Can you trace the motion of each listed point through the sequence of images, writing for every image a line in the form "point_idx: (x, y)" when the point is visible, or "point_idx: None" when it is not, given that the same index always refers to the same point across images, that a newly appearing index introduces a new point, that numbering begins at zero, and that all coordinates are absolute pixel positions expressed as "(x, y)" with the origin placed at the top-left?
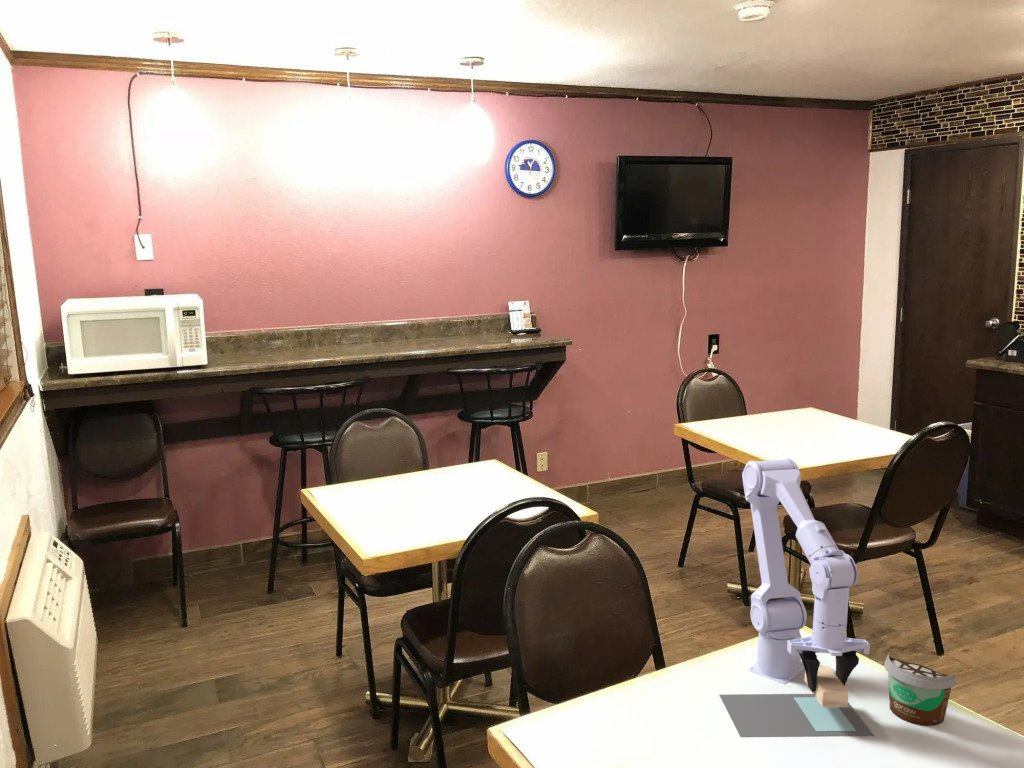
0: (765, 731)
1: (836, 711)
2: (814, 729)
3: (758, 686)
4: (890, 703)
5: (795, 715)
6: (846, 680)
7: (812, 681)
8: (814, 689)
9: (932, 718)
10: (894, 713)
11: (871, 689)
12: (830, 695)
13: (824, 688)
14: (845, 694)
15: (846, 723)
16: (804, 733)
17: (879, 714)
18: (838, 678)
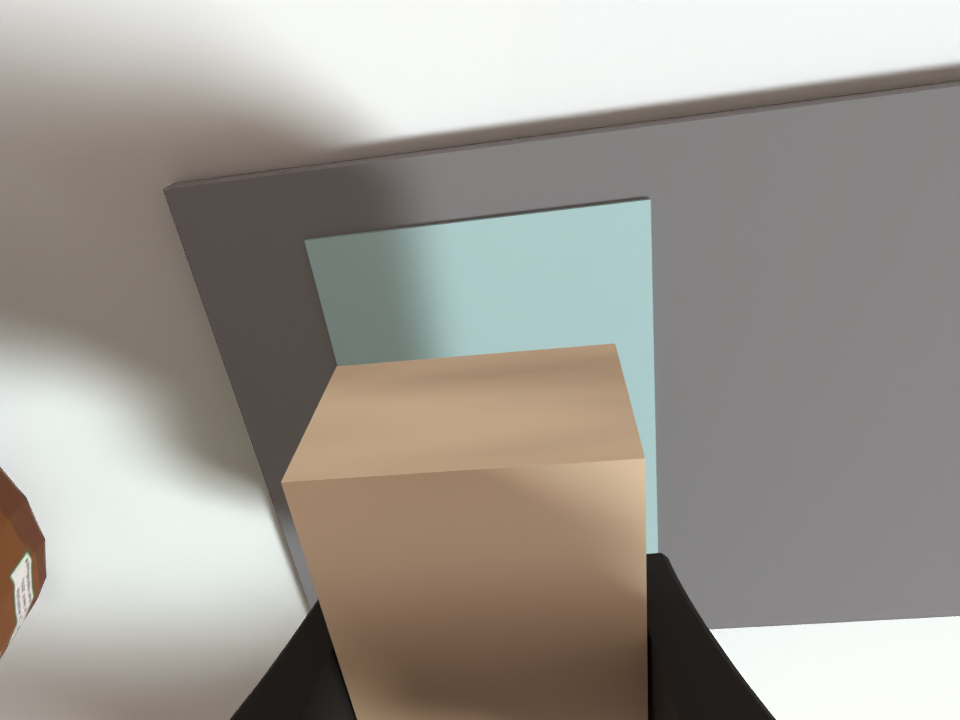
0: None
1: None
2: (653, 229)
3: (826, 693)
4: (15, 562)
5: (736, 406)
6: (268, 676)
7: (714, 645)
8: (648, 568)
9: None
10: (13, 491)
11: (142, 694)
12: (533, 430)
13: (601, 524)
14: (331, 450)
15: (362, 333)
16: (770, 157)
17: (113, 479)
18: (352, 713)
